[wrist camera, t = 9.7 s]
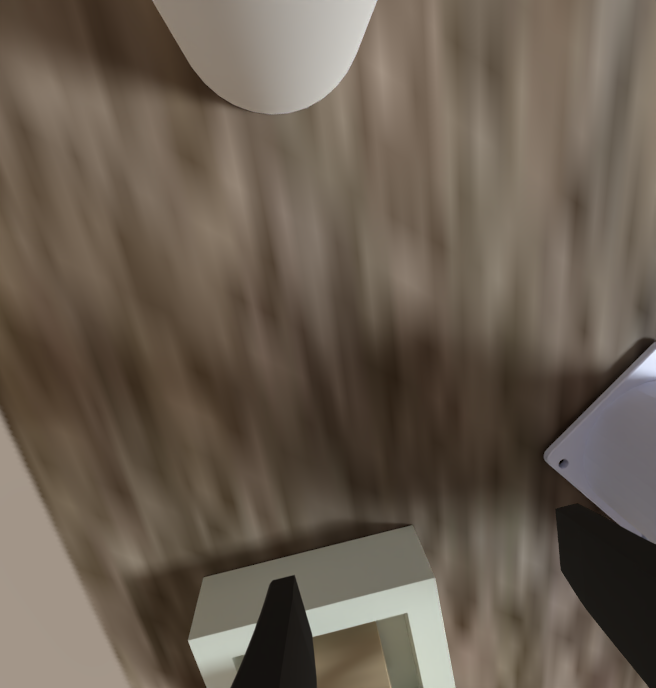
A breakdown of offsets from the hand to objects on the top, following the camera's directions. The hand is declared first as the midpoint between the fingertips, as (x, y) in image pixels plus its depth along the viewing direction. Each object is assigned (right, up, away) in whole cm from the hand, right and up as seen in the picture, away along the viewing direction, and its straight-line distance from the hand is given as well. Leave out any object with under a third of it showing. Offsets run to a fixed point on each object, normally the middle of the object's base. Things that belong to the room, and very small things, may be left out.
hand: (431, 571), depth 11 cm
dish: (-3, -10, +12) cm, 16 cm away
